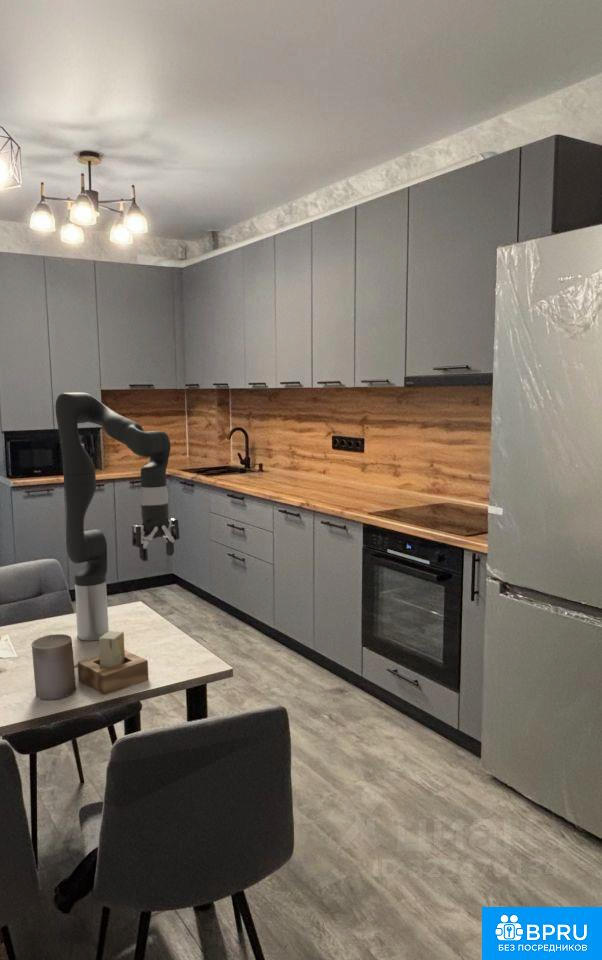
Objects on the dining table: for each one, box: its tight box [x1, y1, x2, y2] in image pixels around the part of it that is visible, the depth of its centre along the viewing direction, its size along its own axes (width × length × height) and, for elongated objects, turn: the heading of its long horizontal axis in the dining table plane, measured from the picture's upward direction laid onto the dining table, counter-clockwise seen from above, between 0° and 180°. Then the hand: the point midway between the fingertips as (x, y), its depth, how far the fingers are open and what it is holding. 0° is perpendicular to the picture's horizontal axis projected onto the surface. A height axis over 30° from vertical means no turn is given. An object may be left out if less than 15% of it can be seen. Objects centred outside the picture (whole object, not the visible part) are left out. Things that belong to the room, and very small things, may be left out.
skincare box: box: [98, 630, 125, 669], centre depth 186 cm, size 6×4×12 cm
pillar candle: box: [30, 633, 77, 701], centre depth 179 cm, size 10×10×15 cm
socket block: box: [76, 649, 149, 696], centre depth 186 cm, size 13×13×5 cm
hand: (157, 558), depth 202 cm, fingers open, 8 cm apart
